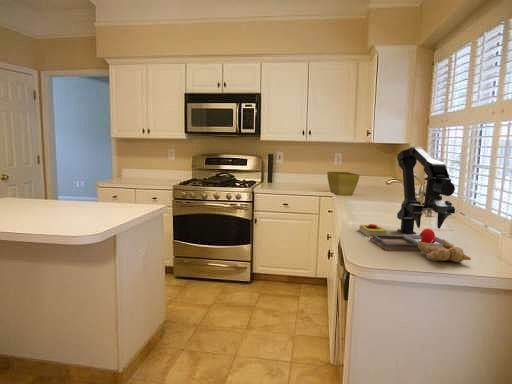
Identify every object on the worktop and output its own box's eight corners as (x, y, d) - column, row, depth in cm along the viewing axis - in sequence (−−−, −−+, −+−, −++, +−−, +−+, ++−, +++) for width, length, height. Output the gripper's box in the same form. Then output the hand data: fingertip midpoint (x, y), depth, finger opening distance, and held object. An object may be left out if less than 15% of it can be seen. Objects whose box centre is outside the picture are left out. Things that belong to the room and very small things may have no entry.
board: (370, 240, 162) (370, 234, 161) (403, 240, 163) (403, 235, 163) (385, 250, 147) (385, 244, 146) (421, 251, 148) (422, 245, 148)
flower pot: (358, 195, 292) (360, 174, 290) (337, 196, 287) (338, 174, 284) (345, 192, 310) (347, 172, 308) (325, 192, 304) (326, 171, 302)
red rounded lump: (420, 232, 167) (417, 227, 162) (434, 229, 164) (432, 224, 160) (423, 249, 163) (420, 244, 159) (438, 247, 160) (435, 242, 156)
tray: (402, 237, 168) (403, 234, 168) (433, 238, 170) (433, 235, 169) (420, 247, 154) (420, 243, 154) (453, 248, 155) (453, 244, 155)
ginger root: (475, 266, 128) (471, 243, 128) (425, 271, 133) (422, 249, 133) (463, 255, 143) (460, 234, 143) (419, 259, 148) (416, 239, 148)
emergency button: (377, 222, 181) (390, 229, 166) (376, 230, 181) (389, 239, 166) (358, 221, 180) (369, 229, 165) (357, 230, 181) (368, 238, 166)
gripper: (422, 194, 150) (417, 232, 152) (465, 196, 152) (460, 233, 154) (408, 190, 161) (404, 225, 163) (449, 191, 163) (444, 226, 165)
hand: (428, 228), depth 161 cm, fingers open, 9 cm apart
